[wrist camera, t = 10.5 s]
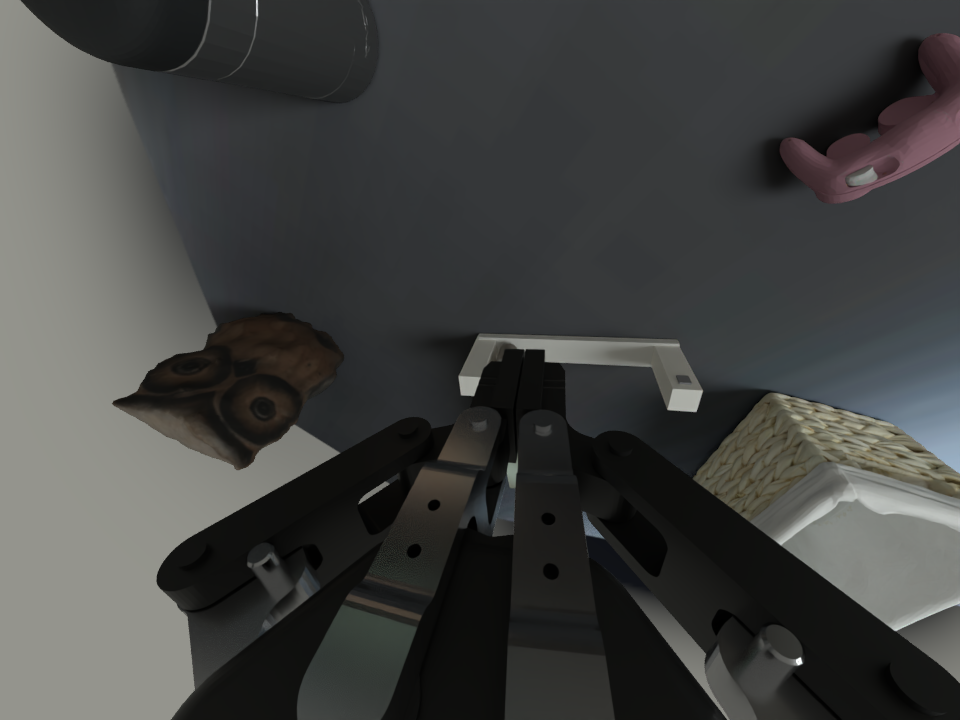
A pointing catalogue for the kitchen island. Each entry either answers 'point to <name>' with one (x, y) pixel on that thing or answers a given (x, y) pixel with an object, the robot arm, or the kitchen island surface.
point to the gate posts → (596, 361)
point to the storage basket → (847, 503)
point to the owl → (237, 386)
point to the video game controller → (889, 134)
